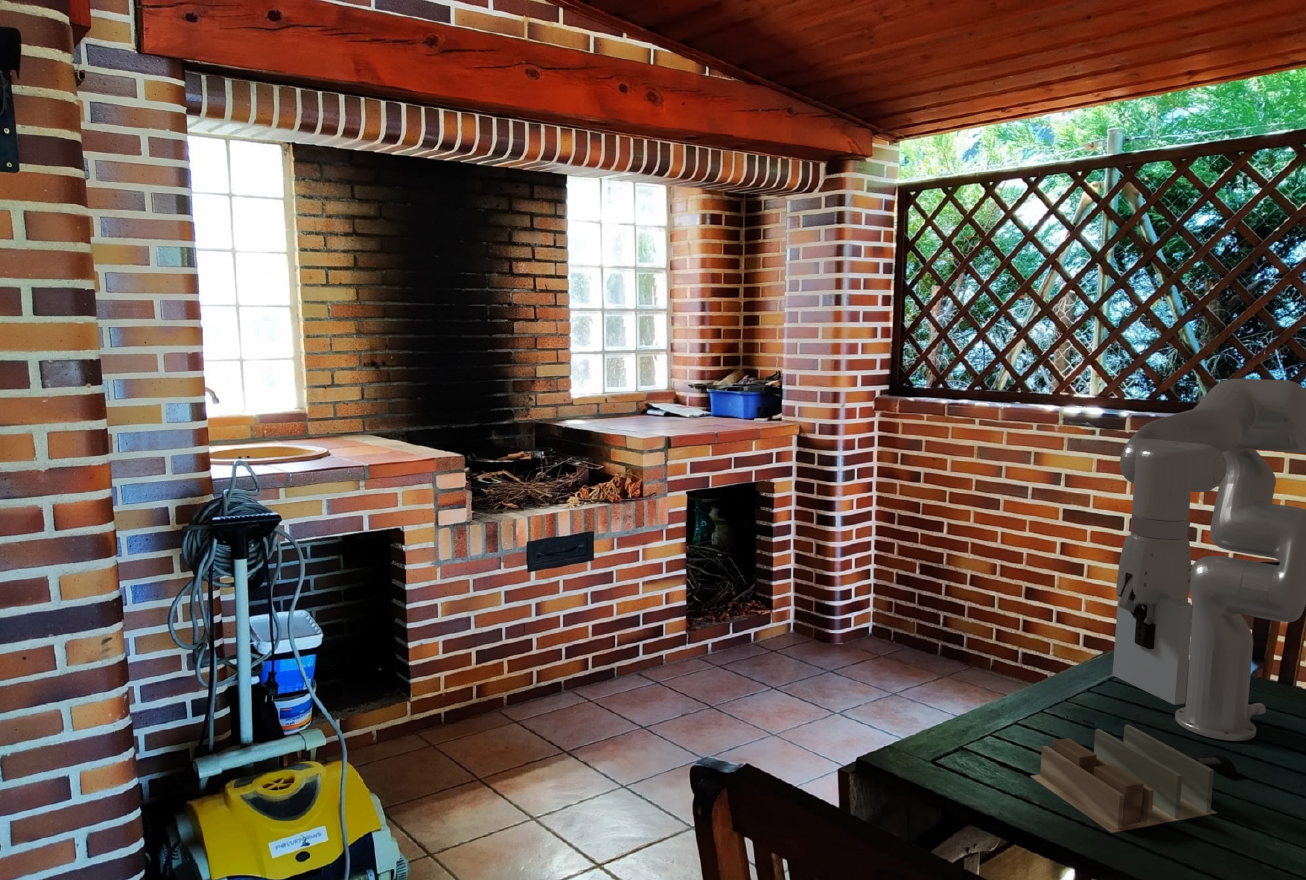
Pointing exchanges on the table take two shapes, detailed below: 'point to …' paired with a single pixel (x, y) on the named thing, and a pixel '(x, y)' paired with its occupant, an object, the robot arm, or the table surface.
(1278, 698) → the table surface
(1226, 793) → the table surface
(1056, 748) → the offcut
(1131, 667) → the sheet
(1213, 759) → the electric trimmer
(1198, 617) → the robot arm
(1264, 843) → the table surface
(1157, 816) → the rack
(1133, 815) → the offcut
